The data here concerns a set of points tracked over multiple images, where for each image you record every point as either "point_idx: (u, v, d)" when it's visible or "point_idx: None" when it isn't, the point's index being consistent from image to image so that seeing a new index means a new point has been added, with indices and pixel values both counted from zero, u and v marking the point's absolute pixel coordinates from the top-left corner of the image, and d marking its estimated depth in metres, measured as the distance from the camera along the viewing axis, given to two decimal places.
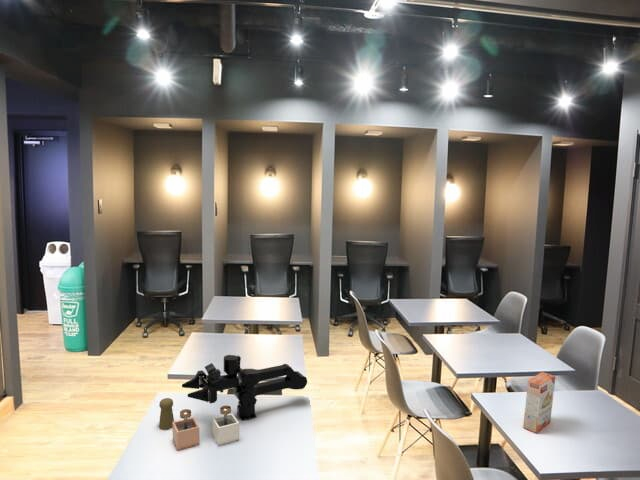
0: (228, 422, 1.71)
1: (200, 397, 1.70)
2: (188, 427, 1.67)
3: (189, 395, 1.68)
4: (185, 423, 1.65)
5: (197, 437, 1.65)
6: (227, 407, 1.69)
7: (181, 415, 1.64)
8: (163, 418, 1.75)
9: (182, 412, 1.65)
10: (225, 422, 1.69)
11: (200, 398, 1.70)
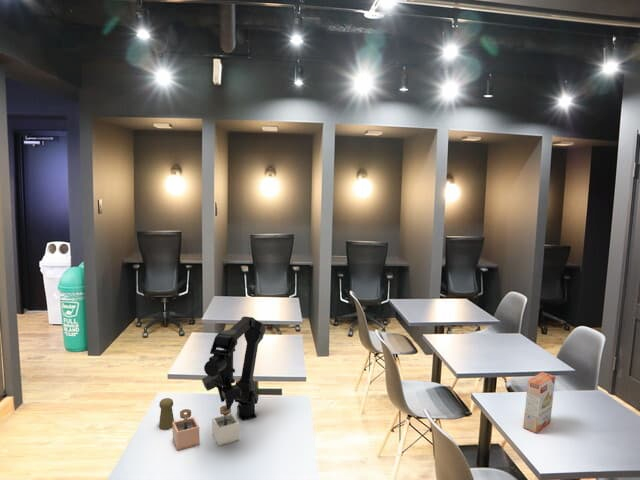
0: (228, 422, 1.71)
1: (232, 398, 1.65)
2: (188, 427, 1.67)
3: (228, 408, 1.65)
4: (185, 423, 1.65)
5: (197, 437, 1.65)
6: None
7: (181, 415, 1.64)
8: (163, 418, 1.75)
9: (182, 412, 1.65)
10: (225, 422, 1.69)
11: (233, 398, 1.65)
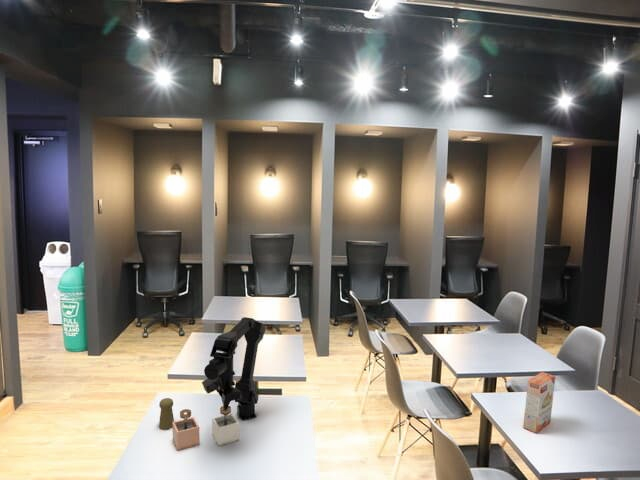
0: (228, 422, 1.71)
1: None
2: (188, 427, 1.67)
3: (225, 407, 1.68)
4: (185, 423, 1.65)
5: (197, 437, 1.65)
6: None
7: (181, 415, 1.64)
8: (163, 418, 1.75)
9: (182, 412, 1.65)
10: (225, 422, 1.69)
11: None
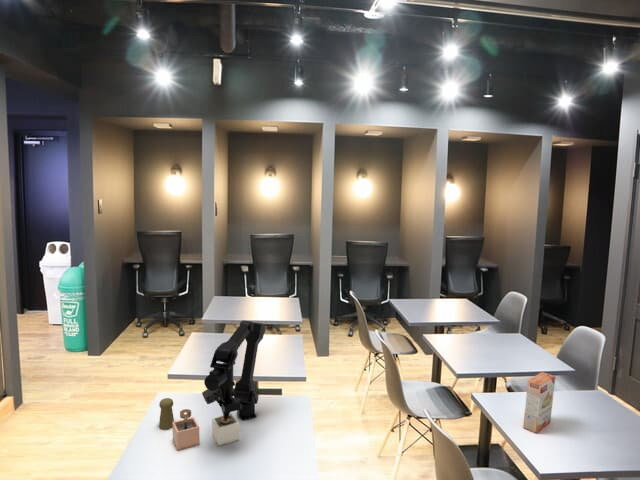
0: None
1: None
2: (188, 427, 1.67)
3: (225, 417, 1.69)
4: (185, 423, 1.65)
5: (197, 437, 1.65)
6: None
7: (181, 415, 1.64)
8: (163, 418, 1.75)
9: (182, 412, 1.65)
10: None
11: None
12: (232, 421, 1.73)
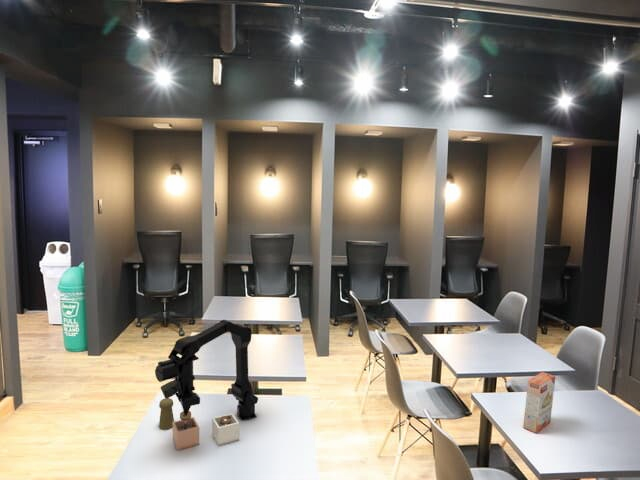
0: None
1: None
2: (188, 428, 1.67)
3: (185, 412, 1.65)
4: (185, 425, 1.65)
5: (197, 437, 1.65)
6: (227, 417, 1.70)
7: (181, 417, 1.64)
8: (163, 418, 1.75)
9: (182, 414, 1.65)
10: None
11: None
12: (232, 421, 1.73)
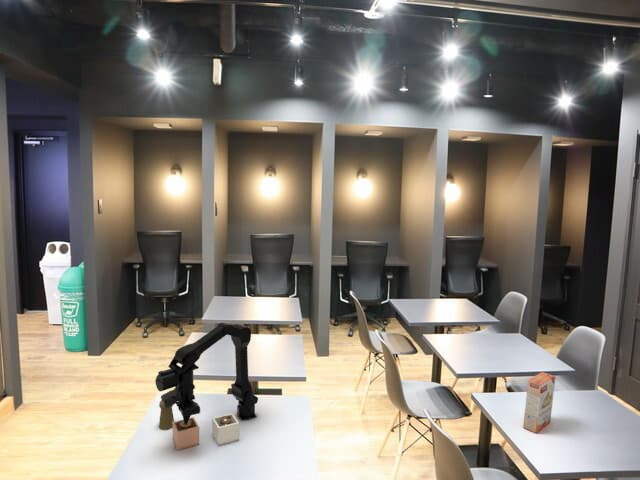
0: None
1: None
2: None
3: (186, 421, 1.65)
4: None
5: (197, 437, 1.65)
6: (227, 417, 1.70)
7: (181, 425, 1.64)
8: (163, 418, 1.75)
9: (182, 422, 1.65)
10: None
11: None
12: (232, 421, 1.73)
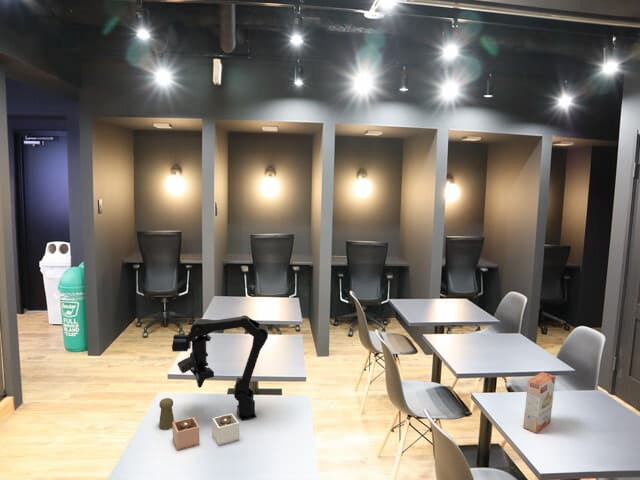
0: None
1: None
2: None
3: (200, 386, 1.83)
4: None
5: (197, 437, 1.65)
6: (227, 417, 1.70)
7: (181, 425, 1.64)
8: (163, 418, 1.75)
9: (182, 422, 1.65)
10: None
11: None
12: (232, 421, 1.73)
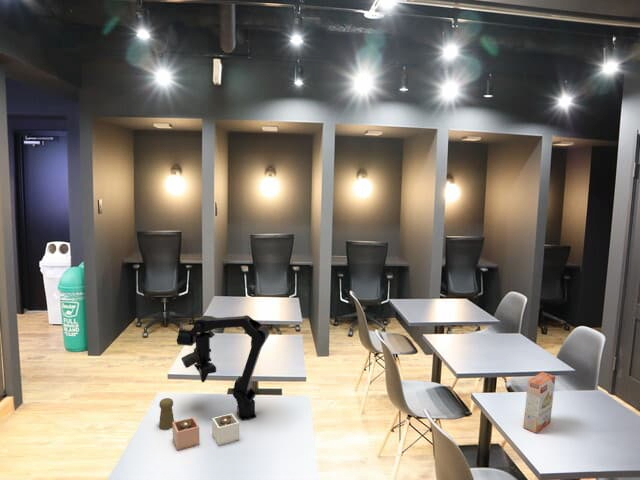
0: None
1: None
2: None
3: (203, 381, 1.88)
4: None
5: (197, 437, 1.65)
6: (227, 417, 1.70)
7: (181, 425, 1.64)
8: (163, 418, 1.75)
9: (182, 422, 1.65)
10: None
11: None
12: (232, 421, 1.73)
